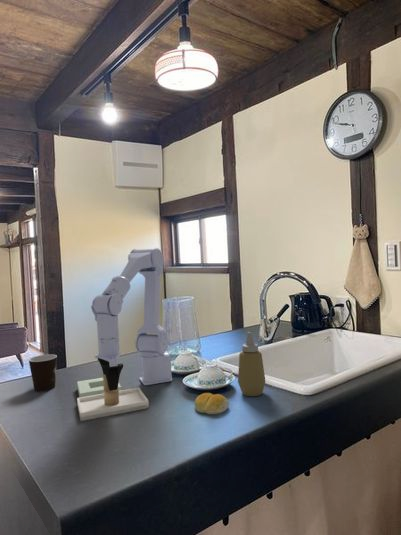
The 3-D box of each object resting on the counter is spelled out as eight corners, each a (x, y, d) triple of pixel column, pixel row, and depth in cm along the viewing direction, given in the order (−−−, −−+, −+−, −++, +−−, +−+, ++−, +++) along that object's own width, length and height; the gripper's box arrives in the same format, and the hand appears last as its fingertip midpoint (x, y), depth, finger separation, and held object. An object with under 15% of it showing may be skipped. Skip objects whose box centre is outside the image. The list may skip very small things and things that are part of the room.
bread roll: (204, 401, 110) (204, 387, 110) (232, 406, 106) (231, 392, 105) (188, 411, 103) (187, 396, 103) (217, 418, 99) (216, 402, 98)
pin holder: (115, 383, 129) (114, 375, 129) (121, 394, 118) (121, 386, 118) (77, 389, 125) (77, 381, 125) (80, 401, 114) (80, 393, 113)
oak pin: (117, 399, 111) (116, 371, 111) (120, 404, 108) (118, 375, 107) (103, 401, 110) (102, 373, 110) (105, 406, 106) (103, 378, 106)
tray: (139, 393, 118) (139, 387, 118) (148, 407, 107) (148, 400, 107) (77, 404, 111) (77, 398, 111) (80, 421, 100) (80, 413, 100)
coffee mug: (49, 393, 122) (47, 361, 122) (24, 392, 124) (22, 361, 124) (68, 380, 134) (67, 352, 133) (46, 380, 135) (44, 352, 135)
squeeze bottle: (271, 392, 114) (269, 331, 113) (255, 400, 108) (252, 336, 108) (249, 386, 120) (246, 328, 119) (232, 394, 114) (230, 333, 113)
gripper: (91, 334, 114) (93, 380, 114) (96, 344, 100) (99, 396, 101) (115, 331, 116) (117, 376, 117) (124, 341, 103) (126, 391, 103)
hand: (111, 385), depth 109 cm, fingers open, 7 cm apart
